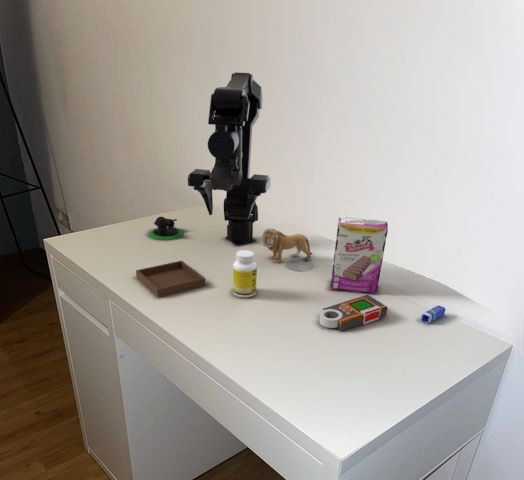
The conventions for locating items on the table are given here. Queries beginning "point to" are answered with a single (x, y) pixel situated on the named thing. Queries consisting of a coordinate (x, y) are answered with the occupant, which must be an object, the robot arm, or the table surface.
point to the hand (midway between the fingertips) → (229, 216)
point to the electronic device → (352, 313)
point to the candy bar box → (358, 254)
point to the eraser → (433, 314)
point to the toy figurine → (165, 229)
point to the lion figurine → (285, 243)
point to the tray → (170, 278)
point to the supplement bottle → (244, 274)
